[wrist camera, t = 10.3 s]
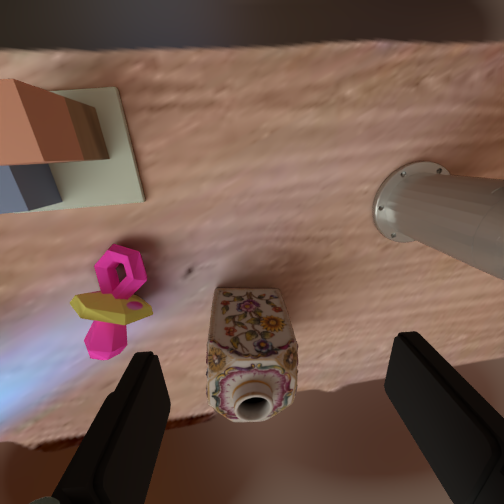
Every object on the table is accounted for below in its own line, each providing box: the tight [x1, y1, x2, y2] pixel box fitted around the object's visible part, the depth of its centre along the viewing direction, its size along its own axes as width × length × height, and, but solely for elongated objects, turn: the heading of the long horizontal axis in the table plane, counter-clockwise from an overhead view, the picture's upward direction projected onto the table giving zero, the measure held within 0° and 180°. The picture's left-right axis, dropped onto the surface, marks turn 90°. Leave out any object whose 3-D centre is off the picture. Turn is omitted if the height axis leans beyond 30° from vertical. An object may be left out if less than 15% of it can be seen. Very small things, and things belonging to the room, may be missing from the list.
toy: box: [70, 244, 153, 360], centre depth 36 cm, size 10×18×10 cm, turn 164°
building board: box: [14, 87, 146, 213], centre depth 31 cm, size 18×14×1 cm
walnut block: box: [42, 97, 110, 164], centre depth 28 cm, size 6×6×6 cm
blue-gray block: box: [0, 164, 63, 214], centre depth 29 cm, size 6×6×6 cm
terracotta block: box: [0, 79, 84, 166], centre depth 22 cm, size 6×6×6 cm
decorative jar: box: [206, 288, 298, 422], centre depth 35 cm, size 12×12×18 cm
